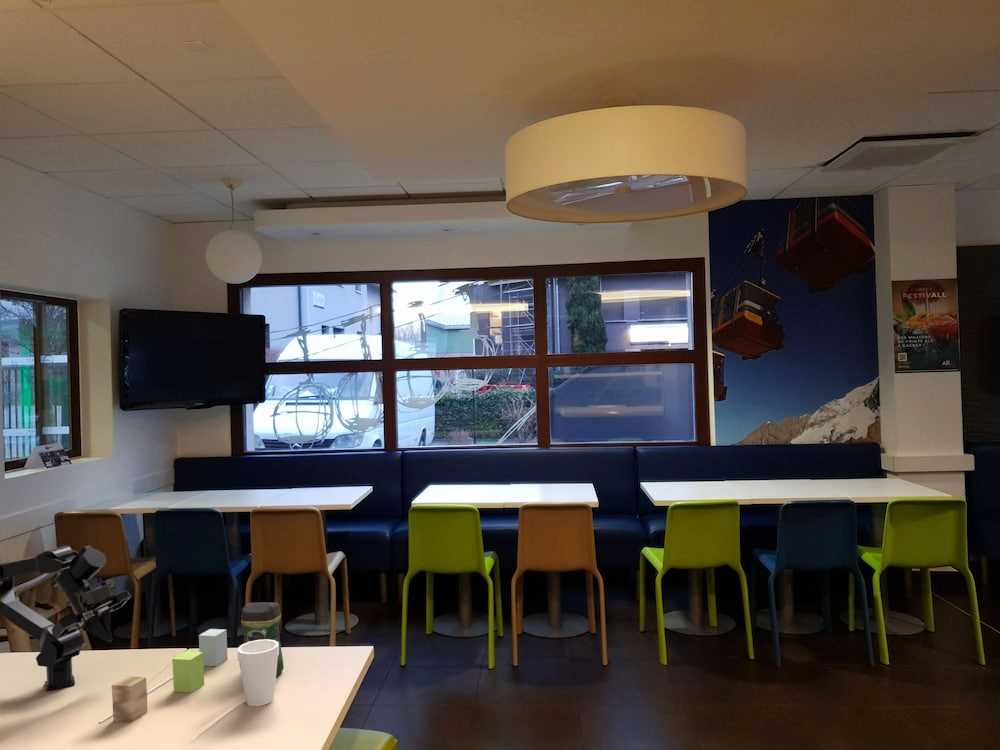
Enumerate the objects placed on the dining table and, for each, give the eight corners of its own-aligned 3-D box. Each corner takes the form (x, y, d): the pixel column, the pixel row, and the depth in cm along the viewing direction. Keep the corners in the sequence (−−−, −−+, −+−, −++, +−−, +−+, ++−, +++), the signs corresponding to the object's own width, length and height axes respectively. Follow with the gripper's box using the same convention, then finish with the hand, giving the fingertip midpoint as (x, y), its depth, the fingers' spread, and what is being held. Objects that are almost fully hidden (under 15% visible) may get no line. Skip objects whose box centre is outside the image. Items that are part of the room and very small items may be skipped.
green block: (173, 691, 187) (172, 658, 187) (186, 683, 192) (185, 651, 192) (191, 692, 186) (190, 659, 186) (204, 684, 191) (203, 652, 191)
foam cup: (268, 710, 177) (266, 654, 177) (231, 708, 179) (229, 653, 179) (287, 693, 186) (285, 640, 186) (252, 691, 188) (250, 638, 188)
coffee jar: (287, 668, 202) (284, 598, 202) (275, 680, 195) (272, 607, 194) (252, 668, 203) (249, 598, 203) (239, 680, 196) (236, 607, 195)
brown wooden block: (113, 720, 172) (111, 685, 172) (128, 710, 177) (127, 676, 177) (132, 722, 171) (130, 686, 171) (147, 712, 176) (146, 677, 176)
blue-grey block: (199, 665, 203) (198, 635, 203) (211, 658, 208) (209, 628, 208) (216, 666, 202) (215, 636, 202) (227, 659, 207) (226, 629, 207)
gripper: (55, 589, 183) (89, 643, 181) (123, 560, 200) (156, 609, 197) (37, 611, 188) (70, 664, 186) (105, 581, 205) (136, 629, 202)
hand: (110, 640), depth 192 cm, fingers closed
